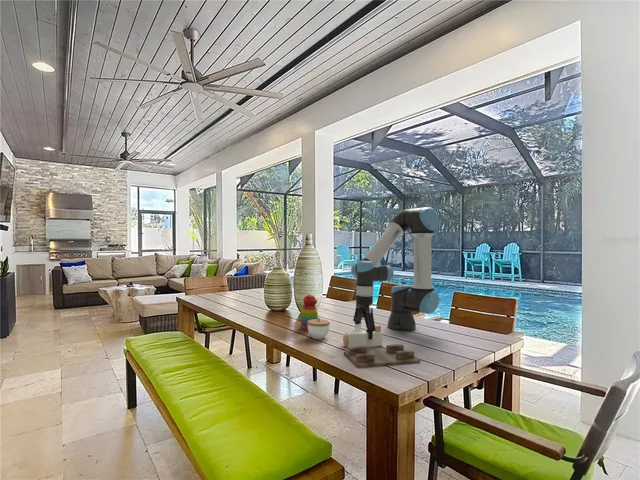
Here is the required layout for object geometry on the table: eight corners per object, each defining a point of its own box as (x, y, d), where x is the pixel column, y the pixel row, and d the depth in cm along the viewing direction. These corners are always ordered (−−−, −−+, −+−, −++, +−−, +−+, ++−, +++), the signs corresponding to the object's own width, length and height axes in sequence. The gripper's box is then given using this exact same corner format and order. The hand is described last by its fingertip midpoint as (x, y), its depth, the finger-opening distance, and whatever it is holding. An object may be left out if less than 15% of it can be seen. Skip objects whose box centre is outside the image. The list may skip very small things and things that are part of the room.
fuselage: (378, 343, 162) (378, 324, 162) (382, 345, 158) (382, 327, 158) (342, 345, 158) (343, 326, 158) (346, 348, 154) (346, 328, 154)
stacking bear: (316, 331, 180) (317, 296, 180) (297, 330, 182) (298, 295, 182) (320, 326, 191) (321, 293, 191) (302, 325, 193) (303, 292, 193)
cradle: (400, 349, 152) (400, 341, 152) (420, 362, 136) (420, 353, 136) (343, 354, 145) (343, 345, 145) (357, 367, 130) (357, 358, 130)
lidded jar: (307, 334, 175) (308, 315, 175) (329, 334, 174) (329, 315, 174) (306, 340, 164) (306, 320, 164) (329, 340, 163) (329, 320, 163)
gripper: (347, 291, 169) (346, 335, 169) (367, 299, 145) (366, 351, 145) (361, 291, 171) (360, 334, 171) (384, 299, 147) (382, 350, 147)
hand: (363, 342), depth 158 cm, fingers open, 13 cm apart
